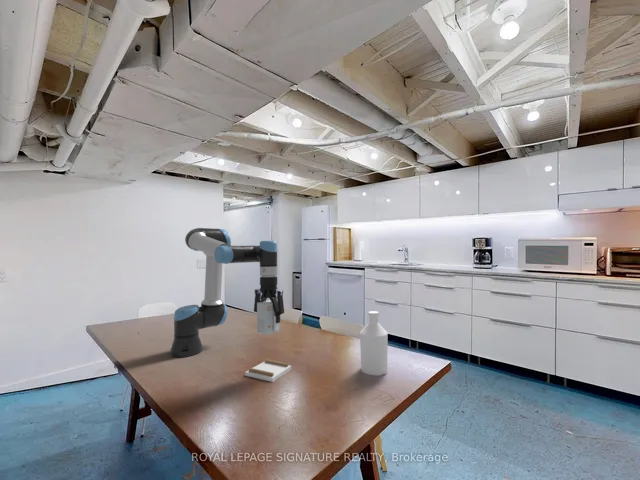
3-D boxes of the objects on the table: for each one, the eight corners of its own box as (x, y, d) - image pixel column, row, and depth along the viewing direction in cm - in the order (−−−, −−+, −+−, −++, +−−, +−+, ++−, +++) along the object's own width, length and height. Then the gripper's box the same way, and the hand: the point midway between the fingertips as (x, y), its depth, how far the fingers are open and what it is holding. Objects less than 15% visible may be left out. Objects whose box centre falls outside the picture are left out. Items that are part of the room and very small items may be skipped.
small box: (271, 328, 133) (271, 299, 133) (280, 331, 129) (280, 301, 129) (256, 332, 127) (256, 302, 127) (266, 335, 123) (266, 303, 123)
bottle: (389, 366, 133) (388, 310, 134) (386, 377, 122) (385, 316, 122) (363, 363, 137) (362, 308, 137) (358, 373, 125) (357, 314, 126)
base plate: (245, 375, 124) (245, 369, 124) (265, 363, 137) (265, 358, 137) (272, 382, 118) (272, 375, 118) (291, 369, 131) (291, 363, 131)
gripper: (244, 276, 130) (245, 329, 129) (282, 277, 121) (283, 334, 120) (255, 274, 136) (256, 325, 136) (292, 276, 127) (293, 329, 127)
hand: (268, 329), depth 128 cm, fingers closed on small box, 7 cm apart
